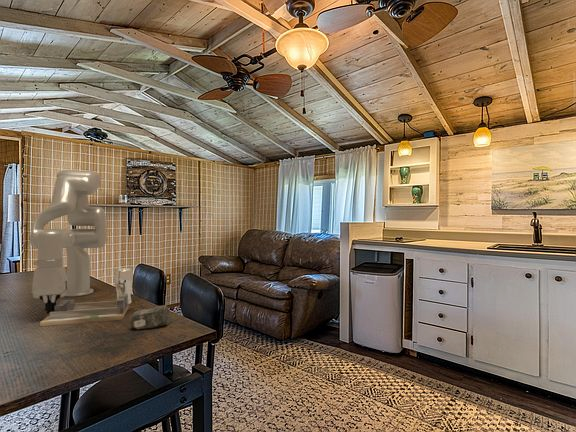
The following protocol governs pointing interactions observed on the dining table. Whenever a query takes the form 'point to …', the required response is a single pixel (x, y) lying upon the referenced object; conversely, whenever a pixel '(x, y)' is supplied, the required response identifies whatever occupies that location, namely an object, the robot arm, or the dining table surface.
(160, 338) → the dining table surface
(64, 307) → the slider
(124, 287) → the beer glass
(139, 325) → the stone
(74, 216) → the robot arm
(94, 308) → the gauge board
